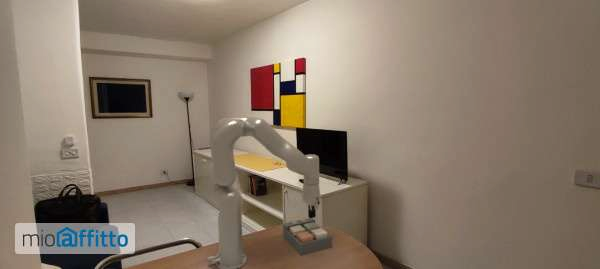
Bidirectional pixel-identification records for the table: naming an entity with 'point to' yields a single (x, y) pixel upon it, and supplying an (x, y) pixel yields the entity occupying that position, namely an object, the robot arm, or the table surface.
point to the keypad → (307, 246)
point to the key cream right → (319, 233)
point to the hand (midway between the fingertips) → (312, 217)
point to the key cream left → (297, 230)
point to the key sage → (310, 226)
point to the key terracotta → (304, 237)
